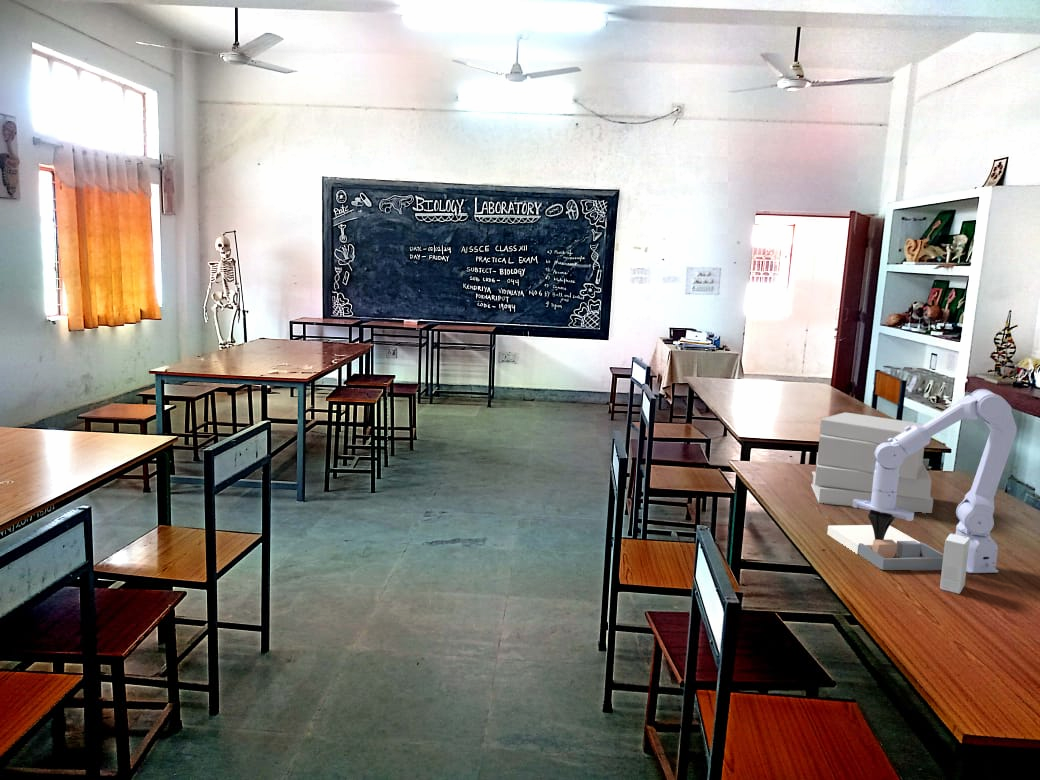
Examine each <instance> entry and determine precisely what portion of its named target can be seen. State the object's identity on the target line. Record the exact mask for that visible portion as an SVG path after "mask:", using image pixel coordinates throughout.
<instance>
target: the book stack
mask: <svg viewBox="0 0 1040 780" xmlns="http://www.w3.org/2000/svg"><path fill="white" fill-rule="evenodd" d="M924 424H925V423H921V422H920V423H919V422H913V421H906V420H901V419H893V418H888V417H878V416H873V415H866V414H859V413H851V412H846V411H845V412H842V413H837V414H833V415H829V416H827V417H822V418H821V419H820V427H819V434H820V435H819V443H818V452H817V454H816V455H817V457H816V468H815V471H814V470H813V471H811V474H812V476H813V477H812V483H811V484H810V485H811V488H812V491H813V493H814V495H815V498H816V500H817V503H818V504H823V503H824V505H835V506H836V505H837V506H844V507H845V506H846V507H853V500H855V499H860V500H866V501H871V497H872V488H873V478H874V471H875V464H876V461H877V459H876V458H875V456H874V451H875V450H876V448H877V446H878V445H880V444H881V443H884V442H885V443H887V442H889V441H888V439H889V438H892V439H893V438H894V437H896V436H897V435H899V434H901V433H902V432H904V431H905V429H904V428H905V427H907V426H910V427H912V426H913V425H919V426H923V425H924ZM894 439H895V438H894ZM895 440H896V439H895ZM924 452H925V447H923V448H922V449H920V450H918V451H917V452H915V453H914V454H912V455H910V456H909V455H908V454H907V453H906V454H907V455H908V456H909V457H907V458H904V460H903V463H902V464H901V466H899V479H898V488H897V497H896V506H895V507H898V508H901V509H904V510H907V511H910V512H913V513H915V512H922V513H921V514H926V513H933V507H934V506H933V505H934V498H933V497H932V496H931V490H932V480H933V479H932V478H931V475H930V474H929V472H928V470H927V469H926V466H925V464H924V463H923V461H924Z"/></svg>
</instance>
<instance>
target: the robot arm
mask: <svg viewBox="0 0 1040 780" xmlns="http://www.w3.org/2000/svg"><path fill="white" fill-rule="evenodd" d="M978 417H979V418H981V419H982V421H983V422H984V423H985V424H986V426H987V427H988V429H989V435H988V437H987V440H986V443H985V446H984V448H983V452H982V455H981V458H980V461H979V463H978V467H977V470H976V474H975V476H974V479H973V482H972V485H971V487H970V490H969V491H968V492H967V493H966V494H965V495H964V498H963V500H962V501H961V502H960V503H958V505H957V507H956V510H955V514H956V517H957V519H958V520H959V522H958V523H957V524H956V528H955V533H954V534H955V535H960V536H965V537H969V538H970V543H969V551H968V559H967V568H966V573H969V574H982V573H983V574H987V573H988V574H989V573H990V574H992V573H994V574H995V573H996V574H997V573H999V570H998V569H997V561H998V560H997V559H998V554H999V546H998V544H997V542H996V541H995V540H993V538H992V537H991V531H992V530H993V528H994V526H995V521H994V512H995V500H994V498H995V496H996V493H997V489H998V487H999V484H1000V481H1001V478H1002V475H1003V472H1004V469H1005V467H1006V463H1007V461H1008V458H1009V454H1010V452H1011V449H1012V446H1013V443H1014V440H1015V438H1016V435H1017V431H1018V430H1017V429H1018V428H1017V425H1016V421H1015V419H1014V415H1013V412H1012V406H1011V404H1009V402H1007V400H1006V399H1005V398H1004V397H1002V396H1001V395H999V394H997V393H994V392H993V391H991V390H989V389H986V388H979V389H976V390H974V391H973V392H971V393H970V394H967V395H965V396H963V397H961V398H960V399H958V400H957V401H956V402H954V403H953V404H952V405H950V406H949V407H947V408H946V409H944V410H943V411H942V412H940V413H939V414H937V415H936V416H935V417H933V418H932V419H930V420H928V421H927V422H926V423H923V424H924V425H923V426H919V425H913V426H912V427H910V426H907V427H905V428H904V429H905V431H904V432H902V433H901V434H899V435H897V436H896V437H894V438H895V439H896V440H895V439H894V438H893V439H892V438H889V439H888V441H889V442H887V443H885V442H884V443H881V444H880V445H878V446H877V448H876V450H875V451H874V456H875V458H876V459H877V461H876V464H875V471H874V478H873V488H872V497H871V501H866V500H860V499H855V500H853V506H852V508H855V509H857V508H859V509H862V510H866V511H870V512H869V513H868V514H867V515H868V516H867V517H868V519H869V521H870V523H871V524H870V525H872V527H873V530H874V536H875V540H884V536H885V534H886V531H887V529H888V528H889V526H891V524H892V522H894V520H895V519H896V518H898V519H903V520H905V521H907V522H911V521H913V520H914V518H915V512H910V511H907V510H904V509H901V508H898V507H895V506H896V497H897V488H898V479H899V466H901V464H902V463H903V460H904V458H907V457H909V456H910V455H912V454H914V453H915V452H917V451H918V450H920V449H922V448H923V447H924V448H925V447H926V446H928V445H930V443H931V438H932V437H933V436H934V435H936V434H938V433H940V432H942V431H943V430H946V429H947V428H949V427H951V426H952V425H954V424H956V423H958V422H959V421H962V420H978ZM906 453H907V454H908V455H909V456H908V455H907V454H906Z"/></svg>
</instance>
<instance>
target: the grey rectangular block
mask: <svg viewBox="0 0 1040 780" xmlns="http://www.w3.org/2000/svg"><path fill="white" fill-rule="evenodd" d="M918 542H919V541H918ZM918 542H916V541H897V549H896V554H895V555H897V556H898V557H900V558H917V557H921V555H920V549H921V544H920V543H918ZM897 556H896V557H897ZM898 557H897V558H898Z"/></svg>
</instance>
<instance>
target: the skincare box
mask: <svg viewBox="0 0 1040 780" xmlns="http://www.w3.org/2000/svg"><path fill="white" fill-rule="evenodd" d="M955 534H956V533H949V535H947V537H946V539H945V540H944V548H943V554H944V556H943V565H942V570H941V575H940V584H939V589H940V590H943V591H946V592H950V593H953V594H958V595H959V594H961V592H962V590H963V589H964V587H965V584H966V576H967V575H966V574H967V572H966V568H967V559H968V551H969V543H970V538H969V537H965V536H960V535H955Z"/></svg>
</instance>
